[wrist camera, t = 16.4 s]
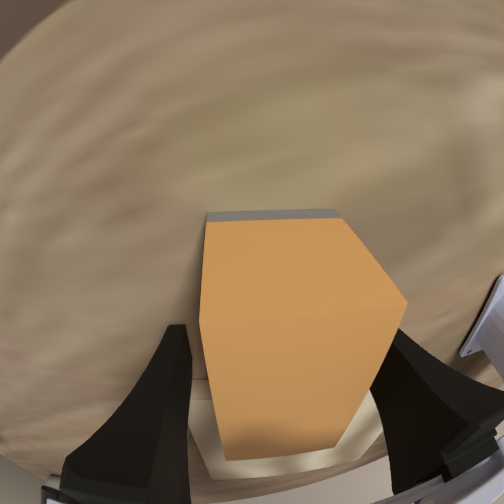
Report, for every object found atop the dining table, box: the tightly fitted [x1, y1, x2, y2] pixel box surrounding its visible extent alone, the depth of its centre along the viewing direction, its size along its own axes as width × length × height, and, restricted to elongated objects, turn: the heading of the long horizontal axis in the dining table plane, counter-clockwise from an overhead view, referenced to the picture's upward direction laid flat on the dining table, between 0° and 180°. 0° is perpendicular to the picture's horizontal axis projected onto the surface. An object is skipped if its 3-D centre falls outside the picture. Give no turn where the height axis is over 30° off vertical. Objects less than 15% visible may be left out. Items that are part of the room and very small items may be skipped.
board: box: [188, 379, 383, 480], centre depth 21 cm, size 16×18×2 cm
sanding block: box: [199, 209, 408, 461], centre depth 11 cm, size 5×9×6 cm, turn 0°
